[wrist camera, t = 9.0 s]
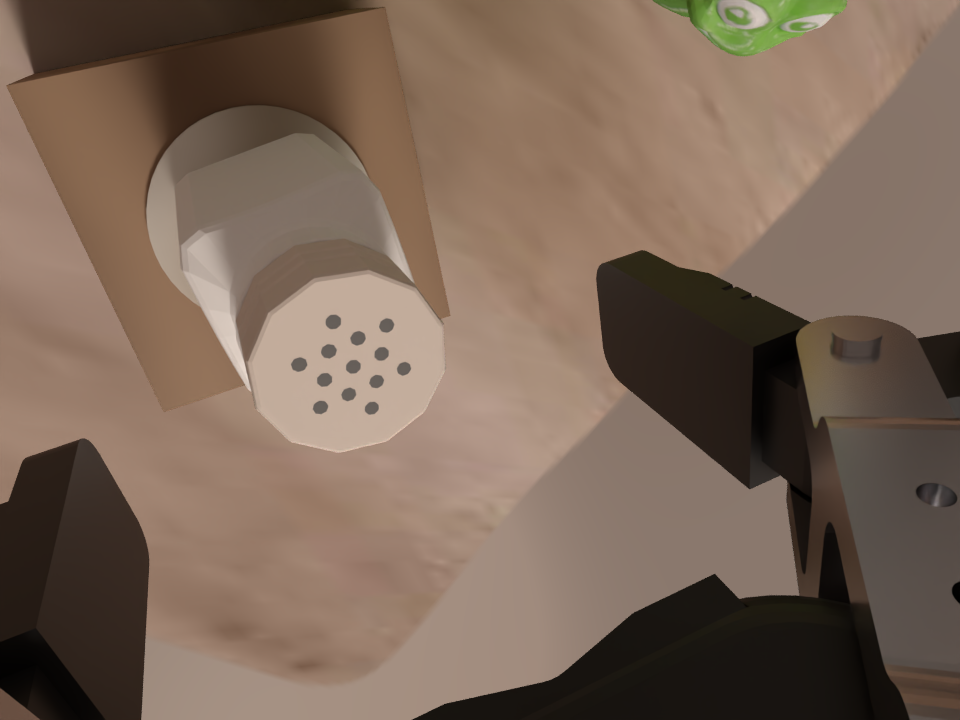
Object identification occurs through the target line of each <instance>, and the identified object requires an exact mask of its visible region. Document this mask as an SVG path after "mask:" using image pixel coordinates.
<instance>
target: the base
mask: <svg viewBox="0 0 960 720" xmlns="http://www.w3.org/2000/svg"><path fill="white" fill-rule="evenodd" d="M7 88H8V90H9V92H10V94H11V96H12V98H13V101H14V103H15V105H16V107H17V109H18V111H19V113H20V115H21V117H22V119H23V121H24V123H25V125H26V127H27V130H28V132H29V134H30V136H31V138H32V140H33V142H34V144H35V146H36V148H37V150H38V152H39V154H40V157H41V159H42V161H43V163H44V165H45V167H46V169H47V171H48V173H49V175H50V177H51V179H52V181H53V183H54V186H55V188H56V190H57V192H58V194H59V196H60V198H61V200H62V202H63V204H64V206H65V208H66V210H67V212H68V215H69V217H70V219H71V221H72V223H73V225H74V227H75V229H76V231H77V233H78V235H79V237H80V239H81V241H82V244H83V246H84V248H85V250H86V252H87V254H88V256H89V258H90V260H91V262H92V264H93V266H94V268H95V271H96V273H97V275H98V277H99V279H100V281H101V283H102V285H103V287H104V289H105V291H106V293H107V295H108V297H109V300H110V302H111V304H112V306H113V308H114V310H115V312H116V314H117V316H118V318H119V320H120V322H121V324H122V326H123V329H124V331H125V333H126V335H127V337H128V339H129V341H130V343H131V345H132V347H133V349H134V351H135V353H136V355H137V358H138V360H139V362H140V364H141V366H142V368H143V370H144V372H145V374H146V376H147V378H148V380H149V382H150V385H151V387H152V389H153V391H154V393H155V395H156V397H157V399H158V401H159V403H160V405H161V407H162V409H163V411H164V412H166V411H169V410H172V409H175V408H178V407H181V406H184V405H187V404H190V403H193V402H196V401H199V400H202V399H205V398H208V397H211V396H214V395H217V394H220V393H222V392H225V391H228V390H231V389H234V388H237V387H240V386H243V385H245V384H244V382H243V381H242V379H241V377H240V376H239V374H238V372H237V371H236V369H235V367H234V366H233V364H232V362H231V361H230V359H229V357H228V355H227V354H226V352H225V350H224V348H223V347H222V345H221V343H220V341H219V340H218V338H217V336H216V334H215V333H214V331H213V329H212V327H211V325H210V323H209V321H208V320H207V318H206V316H205V314H204V312H203V310H202V309H201V307H200V305H199V303H198V301H197V299H196V297H195V295H194V293H193V291H192V290H191V288H190V286H189V284H188V282H187V280H186V278H185V276H184V274H183V272H182V270H181V266H180V253H179V240H178V227H177V214H176V201H175V188H174V186H175V185H176V184H177V183H178V182H179V181H180V180H181V179H182V178H183V177H184V176H185V175H186V174H187V173H190V172H192V171H195V170H198V169H200V168H203V167H206V166H208V165H211V164H214V163H216V162H219V161H222V160H224V159H227V158H230V157H232V156H235V155H238V154H240V153H243V152H246V151H248V150H251V149H254V148H256V147H259V146H262V145H264V144H267V143H270V142H272V141H275V140H278V139H281V138H283V137H286V136H289V135H291V134H294V133H304V134H314V135H315V136H317V137H318V138H319V139H321V140H322V141H323V142H325V143H326V144H327V145H329V146H330V147H331V148H333V149H334V150H335V151H337V152H338V153H339V154H340V155H342V156H343V157H344V158H346V159H347V160H348V161H350V162H351V163H352V164H354V165H355V166H356V167H358V168H359V169H360V170H361V171H362V172H363V173H364V174H365V175H366V176H367V177H368V178H369V179H370V180H371V181H372V182H373V183H374V184H375V185H376V186H377V187H378V188H379V190H380V192H381V195H382V197H383V200H384V202H385V205H386V207H387V210H388V212H389V215H390V217H391V219H392V222H393V224H394V227H395V230H396V232H397V235H398V238H399V240H400V243H401V245H402V248H403V251H404V253H405V256H406V259H407V262H408V265H409V268H410V271H411V274H412V277H413V280H414V283H415V285H416V286H417V288H418V289H419V290H420V292H421V293H422V295H423V296H424V297H425V299H426V300H427V301H428V303H429V304H430V306H431V307H432V308H433V310H434V311H435V312H436V314H437V315H438V317H439V318H440V319H442V318H445V317H448V316H450V311H449V307H448V302H447V297H446V293H445V288H444V283H443V278H442V274H441V269H440V264H439V259H438V255H437V250H436V245H435V241H434V236H433V231H432V226H431V222H430V217H429V212H428V208H427V203H426V198H425V193H424V189H423V184H422V179H421V174H420V170H419V165H418V160H417V156H416V151H415V146H414V141H413V137H412V132H411V127H410V123H409V118H408V113H407V108H406V104H405V99H404V94H403V89H402V85H401V80H400V75H399V71H398V66H397V61H396V56H395V52H394V47H393V42H392V37H391V33H390V28H389V23H388V19H387V14H386V9H385V7H380V8H362V9H348V10H343V11H339V12H334V13H329V14H324V15H319V16H314V17H309V18H304V19H300V20H295V21H290V22H285V23H280V24H275V25H270V26H265V27H261V28H256V29H251V30H246V31H241V32H236V33H231V34H226V35H221V36H217V37H212V38H207V39H202V40H197V41H192V42H187V43H182V44H178V45H173V46H168V47H163V48H158V49H153V50H148V51H143V52H139V53H134V54H129V55H124V56H119V57H114V58H109V59H104V60H99V61H95V62H90V63H85V64H80V65H75V66H70V67H65V68H60V69H56V70H51V71H46V72H41V73H36V74H32V75H30V76H28V77H25V78H23V79H21V80H18V81H16V82H14V83H11V84H9V85H7Z"/></svg>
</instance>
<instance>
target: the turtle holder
mask: <svg viewBox="0 0 960 720" xmlns="http://www.w3.org/2000/svg"><path fill="white" fill-rule="evenodd" d="M653 1H654V2H656V3H657V4H659V5H660V6H662V7H664V8H666V9H668V10H670V11H672V12H675V13H677V14H679V15H681V16H685V17H690V20H691V22H692V24H693V25H694V26H695V27H696V28H697V29H698V30H699V31H700V32H701V33H702V34H703V35H705V36H706V37H707V38H708V39H709V40H710V41H711V42H712V43H713V44H714V45H716V46H717V47H719V48H720V49H722V50H724V51H726V52H728V53H729V54H733V55H737V56H750V55H755V54H757V53H760V52H763V51H766V50H768V49H770V48H772V47H774V46H776V45H778V44H780V43H782V42H784V41H786V40H788V39H790V38H793V37H799V36H802V35H803V34H804V33H806V32H807V31H810V30H813V29H816V28H819V27H821V26H823V25H824V24H825V23H826V22H827V21H828V20H829V19H830V18H832V17H834V16H835V15H837V14H839V13H841V12H842V11H843V10H844V9H845V7H846V4H847V0H653Z"/></svg>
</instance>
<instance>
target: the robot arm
mask: <svg viewBox="0 0 960 720" xmlns="http://www.w3.org/2000/svg"><path fill="white" fill-rule="evenodd" d="M596 280H597V292H598V301H599V311H600V321H601V331H602V341H603V349H604V354H605V357H606V360H607V363H608V365H609V367H610V369H611V371H612V373H613V374H614V376H615V377H616V378H617V379H618V381H620V382H621V383H622V384H623V385H624V386H625V387H627V388H628V389H629V390H630V391H631V392H633V393H634V394H635V395H636V396H638V397H639V398H640V399H641V400H642V401H644V402H645V403H646V404H647V405H648V406H650V407H651V408H652V409H653V410H654V411H656V412H657V413H658V414H659V415H660V416H662V417H663V418H664V419H665V420H667V421H668V422H669V423H670V424H671V425H673V426H674V427H675V428H676V429H677V430H679V431H680V432H681V433H682V434H683V435H685V436H686V437H687V438H688V439H689V440H691V441H692V442H693V443H694V444H696V445H697V446H698V447H699V448H700V449H702V450H703V451H704V452H705V453H706V454H708V455H709V456H710V457H711V458H712V459H714V460H715V461H716V462H717V463H718V464H720V465H721V466H722V467H723V468H724V469H726V470H727V471H728V472H729V473H731V474H732V475H733V476H734V477H736V478H737V479H738V480H739V481H740V482H741V483H743V484H744V485H745V486H746V487H748V488H749V489H751V488H754V487H756V486H758V485H760V484H762V483H765V482H767V481H769V480H771V479H773V478H776V477H778V476H780V475H781V476H782V477H783V478H784V479H786V480H787V495H786V502H787V509H788V517H789V524H790V531H791V539H792V546H793V553H794V561H795V568H796V575H797V583H798V590H799V596H786V595H781V596H780V595H778V596H777V595H776V596H775V595H770V596H758V597H748V598H742V599H738V598H737V596H735V594H734V593H733V592H732V591H731V590H730V589H729V588H728V587H727V586H726V585H725V584H724V583H723V582H722V581H721V580H720V579H719V578H718V577H717V576H716V575H715V574H713V575H711V576H709V577H707V578H705V579H703V580H701V581H699V582H697V583H695V584H693V585H691V586H688V587H686V588H685V589H682V590H680V591H678V592H676V593H674V594H672V595H670V596H668V597H666V598H664V599H661V600H659V601H657V602H655V603H653V604H651V605H649V606H647V607H645V608H643V609H641V610H639V611H637V612H634V613H633V614H631V615H630V616H629V617H628V618H627V619H626V620H624V621H623V622H622V623H621V624H620V625H619V626H617V627H616V628H615V629H614V630H613V631H612V632H610V633H609V634H608V635H607V636H606V637H604V638H603V639H602V640H601V641H600V642H599V643H597V644H596V645H595V646H594V647H593V648H592V649H590V650H589V651H588V652H587V653H586V654H585V655H583V656H582V657H581V658H580V659H579V660H578V661H576V662H575V663H574V664H573V665H572V666H571V667H569V668H568V669H567V670H566V671H565V672H563V673H562V674H561V675H559V676H558V677H556V678H554V679H552V680H549V681H546V682H542V683H537V684H533V685H529V686H524V687H520V688H515V689H510V690H506V691H501V692H497V693H493V694H488V695H483V696H478V697H474V698H469V699H465V700H460V701H456V702H451V703H447V704H444V705H442V706H440V707H438V708H435V709H433V710H431V711H429V712H427V713H425V714H423V715H421V716H419V717H417V718H415V719H413V720H960V332H954V333H948V334H942V335H936V336H930V337H923V338H916V337H915V335H914V334H913V333H911V332H910V331H909V330H907V329H906V328H904V327H902V326H900V325H898V324H895V323H893V322H889V321H886V320H883V319H879V318H872V317H866V316H836V317H829V318H824V319H820V320H817V321H814V322H812V323H811V322H809V321H807V320H804V319H802V318H800V317H798V316H796V315H794V314H792V313H790V312H788V311H786V310H784V309H782V308H780V307H778V306H776V305H773V304H771V303H769V302H767V301H765V300H763V299H761V298H759V297H757V296H755V297H752V295H751V293H749V292H747V291H745V290H743V289H741V288H739V287H735V288H733V286H732V284H730V283H728V282H726V281H724V280H722V279H720V278H718V277H716V276H714V275H712V274H710V273H705V272H700V271H695V270H690V269H685V268H679V267H677V266H675V265H673V264H671V263H669V262H667V261H665V260H663V259H661V258H659V257H657V256H655V255H653V254H651V253H649V252H647V251H643V250H641V251H638V252H635V253H632V254H629V255H626V256H623V257H620V258H617V259H614V260H611V261H608V262H605V263H602V264H601V265H600V266H599V268H598V270H597V277H596ZM148 577H149V554H148V548H147V544H146V540H145V537H144V534H143V531H142V529H141V526H140V524H139V522H138V520H137V518H136V516H135V515H134V513H133V511H132V510H131V508H130V506H129V504H128V503H127V501H126V499H125V497H124V496H123V494H122V492H121V490H120V489H119V487H118V485H117V484H116V482H115V480H114V478H113V477H112V475H111V473H110V471H109V470H108V468H107V466H106V465H105V463H104V461H103V459H102V458H101V456H100V454H99V453H98V451H97V449H96V448H95V447H94V445H93V444H92V443H91V442H90V441H88V440H87V439H80V440H77V441H74V442H71V443H68V444H65V445H62V446H59V447H56V448H53V449H50V450H47V451H44V452H41V453H38V454H35V455H32V456H30V457H27V458H25V459H24V460H23V462H22V464H21V467H20V470H19V473H18V475H17V478H16V481H15V484H14V487H13V490H12V493H11V496H10V498H9V501H8V502H6V503H3V504H0V720H141V713H142V694H143V693H142V692H143V675H144V655H145V636H146V616H147V597H148Z"/></svg>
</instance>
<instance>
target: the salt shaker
mask: <svg viewBox="0 0 960 720" xmlns="http://www.w3.org/2000/svg"><path fill="white" fill-rule="evenodd" d="M174 188H175V201H176V214H177V227H178V240H179V253H180V266H181V270H182V272H183V274H184V276H185V278H186V280H187V282H188V284H189V286H190V288H191V290H192V291H193V293H194V295H195V297H196V299H197V301H198V303H199V305H200V307H201V309H202V310H203V312H204V314H205V316H206V318H207V320H208V321H209V323H210V325H211V327H212V329H213V331H214V333H215V334H216V336H217V338H218V340H219V341H220V343H221V345H222V347H223V348H224V350H225V352H226V354H227V355H228V357H229V359H230V361H231V362H232V364H233V366H234V367H235V369H236V371H237V372H238V374H239V376H240V377H241V379H242V381H243V382H244V384H245V385H246V387H247V389H248V390H250V391H251V392H252V396H253V401H254V405H255V409H256V410H257V411H258V412H259V413H261V414H262V415H263V416H264V417H265V418H266V419H267V420H268V421H269V422H270V423H271V424H272V425H273V426H274V427H275V428H276V429H277V430H278V431H279V432H280V433H281V434H282V435H284V436H285V437H286V438H287V439H288V440H289V441H290V442H293V443H297V444H302V445H306V446H311V447H315V448H319V449H324V450H328V451H332V452H337V453H340V452H345V451H349V450H353V449H357V448H361V447H365V446H370V445H374V444H378V443H382V442H386V441H388V440H389V439H390V438H392V437H393V436H394V435H395V434H397V433H398V432H399V431H401V430H402V429H403V428H404V427H406V426H407V425H408V424H410V423H411V422H412V421H413V420H415V419H416V418H417V417H418V416H420V415H421V414H422V413H424V412H425V410H426V408H427V406H428V404H429V402H430V400H431V398H432V396H433V394H434V392H435V390H436V388H437V386H438V384H439V382H440V380H441V378H442V376H443V374H444V372H445V370H446V362H445V344H444V326H443V322H442V321H441V319H440V318H439V317H438V315H437V314H436V312H435V311H434V310H433V308H432V307H431V306H430V304H429V303H428V301H427V300H426V299H425V297H424V296H423V295H422V293H421V292H420V290H419V289H418V288H417V286H416V285H415V283H414V280H413V277H412V274H411V271H410V268H409V265H408V262H407V259H406V256H405V253H404V251H403V248H402V245H401V243H400V240H399V238H398V235H397V232H396V230H395V227H394V224H393V222H392V219H391V217H390V215H389V212H388V210H387V207H386V205H385V202H384V200H383V197H382V195H381V192H380V190H379V188H378V187H377V186H376V185H375V184H374V183H373V182H372V181H371V180H370V179H369V178H368V177H367V176H366V175H365V174H364V173H363V172H362V171H361V170H360V169H359V168H358V167H356V166H355V165H354V164H352V163H351V162H350V161H348V160H347V159H346V158H344V157H343V156H342V155H340V154H339V153H338V152H337V151H335V150H334V149H333V148H331V147H330V146H329V145H327V144H326V143H325V142H323V141H322V140H321V139H319V138H318V137H317V136H315V135H314V134H304V133H294V134H291V135H289V136H286V137H283V138H281V139H278V140H275V141H272V142H270V143H267V144H264V145H262V146H259V147H256V148H254V149H251V150H248V151H246V152H243V153H240V154H238V155H235V156H232V157H230V158H227V159H224V160H222V161H219V162H216V163H214V164H211V165H208V166H206V167H203V168H200V169H198V170H195V171H192V172H190V173H187V174H186V175H185V176H184V177H183V178H182V179H181V180H180V181H179V182H178V183H177V184H176V185H175V186H174Z"/></svg>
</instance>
